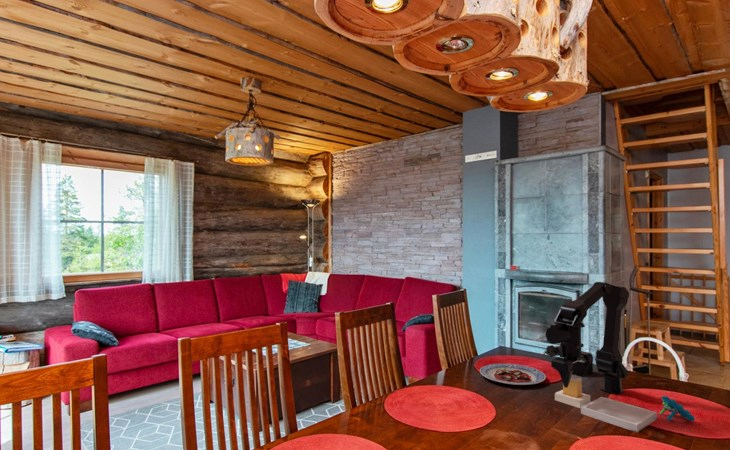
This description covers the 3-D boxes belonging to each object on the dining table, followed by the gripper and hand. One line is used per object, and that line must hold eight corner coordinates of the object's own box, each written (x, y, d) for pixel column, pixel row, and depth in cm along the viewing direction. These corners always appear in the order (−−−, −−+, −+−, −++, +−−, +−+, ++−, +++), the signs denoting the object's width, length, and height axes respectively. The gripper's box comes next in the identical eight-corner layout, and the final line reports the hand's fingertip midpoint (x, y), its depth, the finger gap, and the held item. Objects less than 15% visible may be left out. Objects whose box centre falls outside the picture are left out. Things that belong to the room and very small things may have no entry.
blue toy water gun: (703, 422, 136) (678, 398, 137) (691, 436, 135) (665, 412, 136) (679, 412, 147) (655, 390, 148) (667, 425, 146) (644, 403, 147)
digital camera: (585, 370, 191) (585, 354, 192) (593, 374, 186) (592, 357, 186) (562, 370, 191) (562, 354, 191) (569, 374, 185) (569, 358, 186)
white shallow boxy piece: (565, 395, 162) (565, 388, 163) (590, 402, 155) (590, 395, 155) (554, 400, 158) (554, 393, 158) (579, 408, 151) (579, 400, 151)
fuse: (568, 398, 160) (568, 373, 160) (581, 402, 156) (581, 377, 156) (563, 400, 158) (562, 375, 158) (577, 405, 154) (576, 379, 154)
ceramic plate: (556, 389, 169) (556, 381, 169) (489, 389, 169) (489, 381, 169) (532, 368, 195) (532, 361, 195) (473, 368, 195) (473, 361, 195)
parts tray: (602, 402, 155) (602, 396, 155) (656, 419, 142) (656, 412, 142) (580, 413, 146) (580, 407, 146) (637, 432, 133) (637, 425, 133)
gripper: (563, 332, 169) (564, 373, 169) (536, 340, 158) (537, 383, 157) (593, 338, 160) (594, 381, 160) (567, 346, 149) (567, 393, 149)
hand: (572, 384), depth 157 cm, fingers open, 9 cm apart
